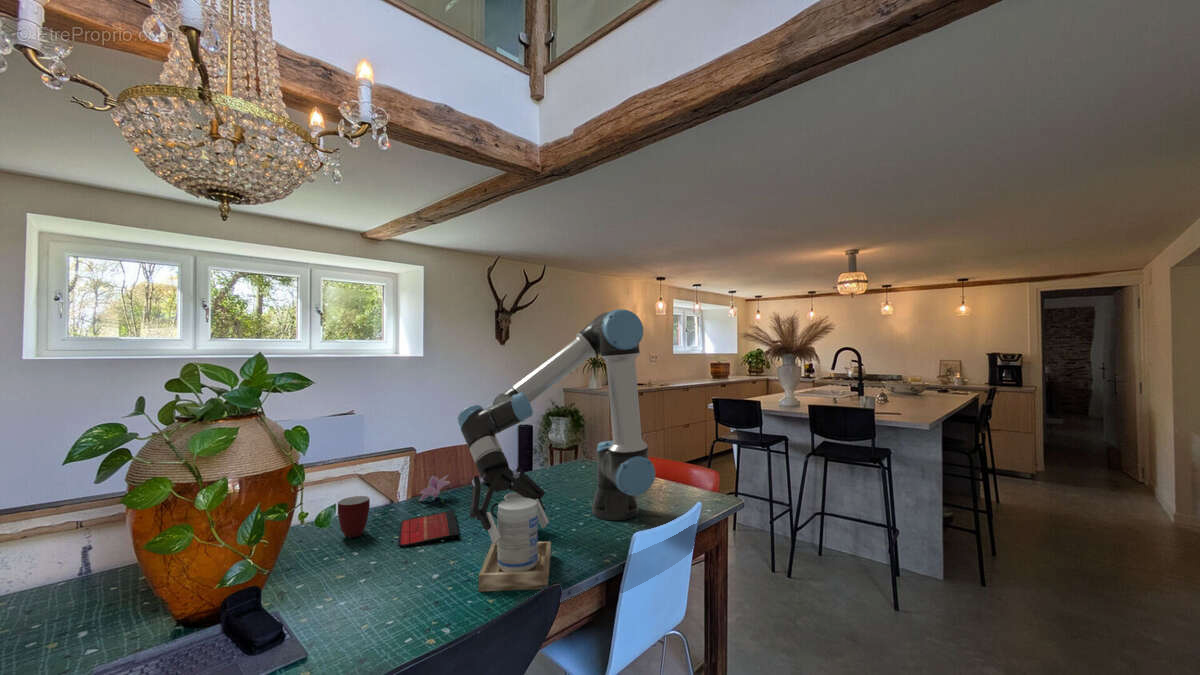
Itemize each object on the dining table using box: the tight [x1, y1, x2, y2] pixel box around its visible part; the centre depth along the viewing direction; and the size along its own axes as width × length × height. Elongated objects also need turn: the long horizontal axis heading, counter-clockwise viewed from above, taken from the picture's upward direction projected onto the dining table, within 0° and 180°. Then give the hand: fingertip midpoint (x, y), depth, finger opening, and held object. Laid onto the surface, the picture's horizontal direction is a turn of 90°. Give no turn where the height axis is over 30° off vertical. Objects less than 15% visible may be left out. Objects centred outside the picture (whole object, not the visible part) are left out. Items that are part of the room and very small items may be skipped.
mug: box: [337, 495, 371, 538], centre depth 133 cm, size 11×8×10 cm
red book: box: [397, 509, 460, 549], centre depth 136 cm, size 16×2×21 cm
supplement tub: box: [496, 498, 539, 572], centre depth 110 cm, size 10×10×15 cm
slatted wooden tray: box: [478, 540, 552, 593], centre depth 110 cm, size 15×17×4 cm
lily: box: [418, 474, 451, 504], centre depth 162 cm, size 12×12×10 cm
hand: (522, 532), depth 109 cm, fingers open, 13 cm apart
